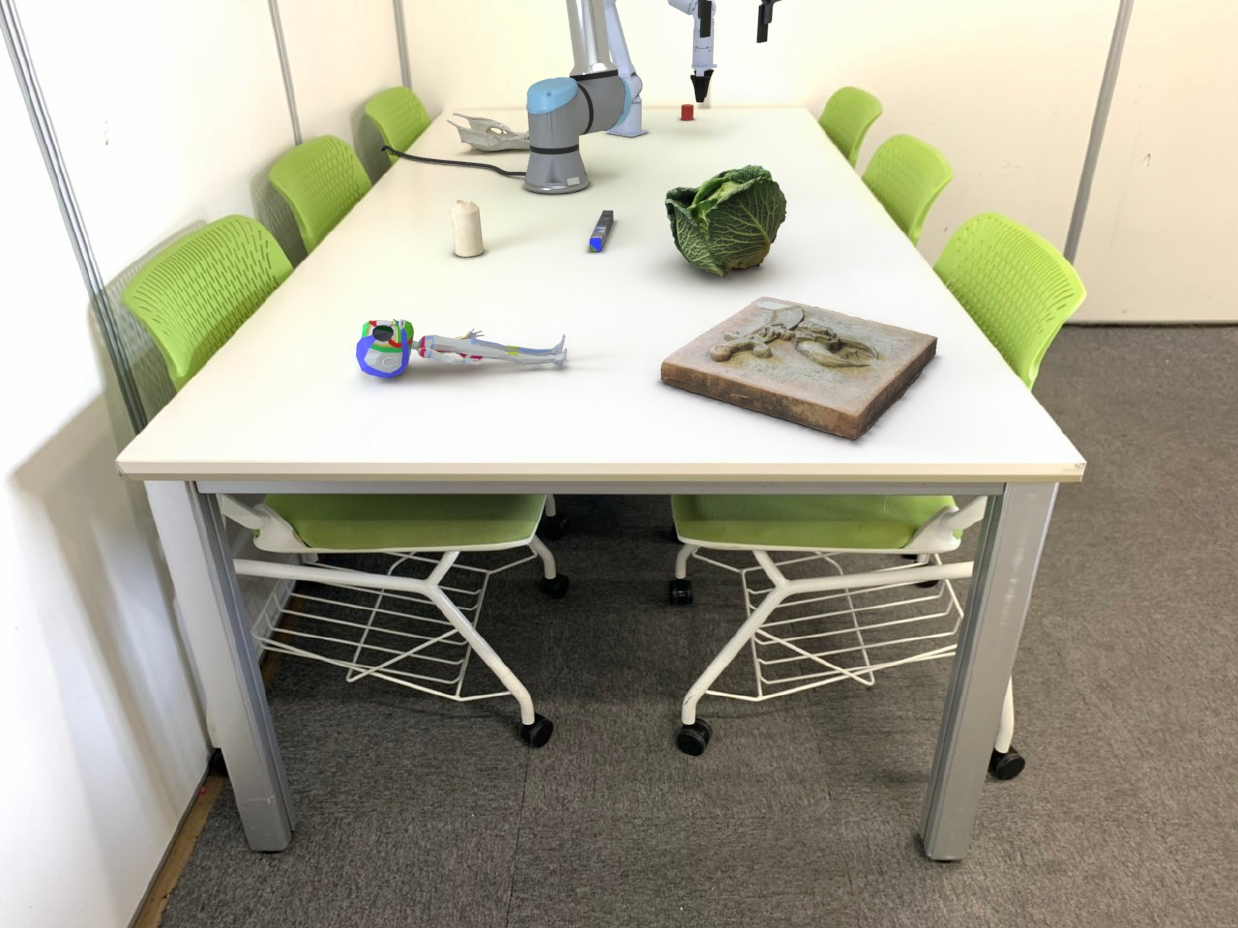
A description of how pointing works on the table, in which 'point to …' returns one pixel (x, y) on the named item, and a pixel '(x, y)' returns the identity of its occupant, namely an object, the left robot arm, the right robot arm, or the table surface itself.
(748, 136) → the table surface
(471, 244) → the candle
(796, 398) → the plaque
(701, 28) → the left robot arm
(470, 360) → the toy
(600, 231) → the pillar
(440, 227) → the table surface
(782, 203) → the vegetable
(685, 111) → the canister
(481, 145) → the anatomical model
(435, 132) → the table surface
